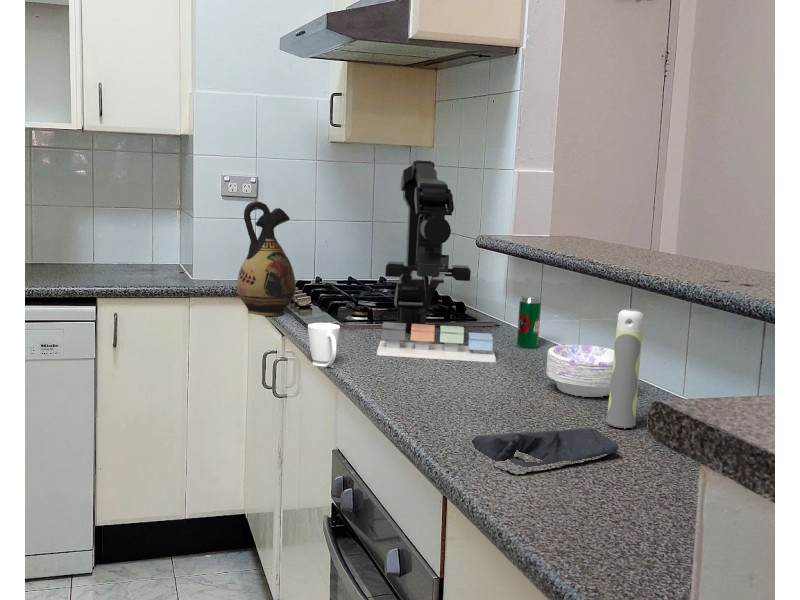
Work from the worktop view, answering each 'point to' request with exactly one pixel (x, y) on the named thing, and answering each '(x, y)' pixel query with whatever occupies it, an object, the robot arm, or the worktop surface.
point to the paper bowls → (581, 369)
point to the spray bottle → (625, 369)
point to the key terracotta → (422, 332)
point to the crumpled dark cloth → (546, 445)
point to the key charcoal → (393, 331)
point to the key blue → (480, 341)
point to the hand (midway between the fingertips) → (425, 309)
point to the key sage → (451, 334)
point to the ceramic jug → (265, 266)
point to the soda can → (528, 322)
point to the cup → (323, 343)
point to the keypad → (433, 351)
